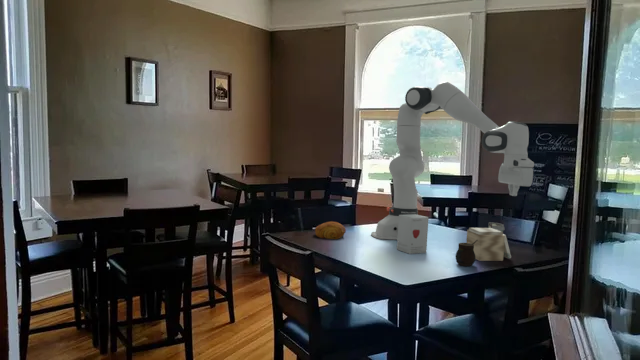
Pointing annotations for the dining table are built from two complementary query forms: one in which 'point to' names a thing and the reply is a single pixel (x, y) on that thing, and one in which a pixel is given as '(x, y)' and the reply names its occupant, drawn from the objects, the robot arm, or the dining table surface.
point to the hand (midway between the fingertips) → (513, 195)
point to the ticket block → (487, 243)
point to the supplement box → (412, 233)
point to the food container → (496, 226)
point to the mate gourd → (465, 254)
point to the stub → (506, 249)
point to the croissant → (330, 230)
